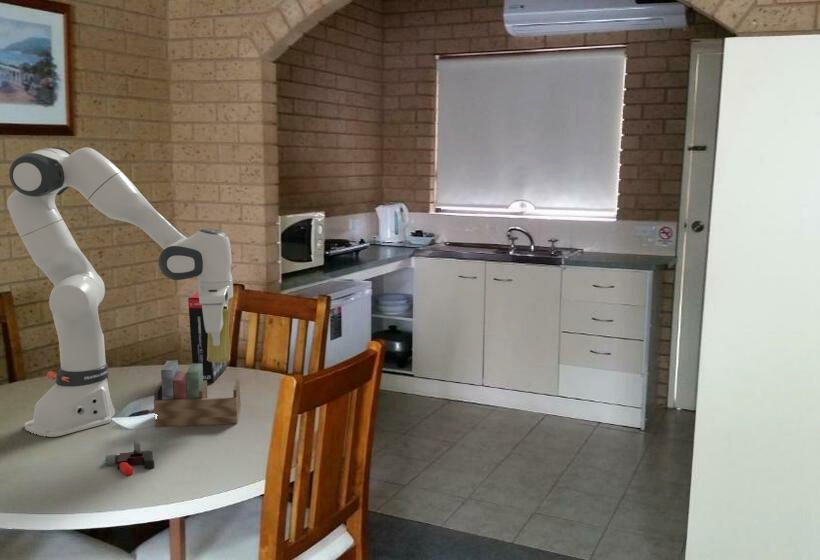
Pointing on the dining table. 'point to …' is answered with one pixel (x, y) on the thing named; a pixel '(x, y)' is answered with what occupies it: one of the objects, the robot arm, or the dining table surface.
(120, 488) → the dining table surface
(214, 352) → the vase
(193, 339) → the graphics card box
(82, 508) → the dining table surface
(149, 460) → the toy gun
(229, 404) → the wooden desk organizer
